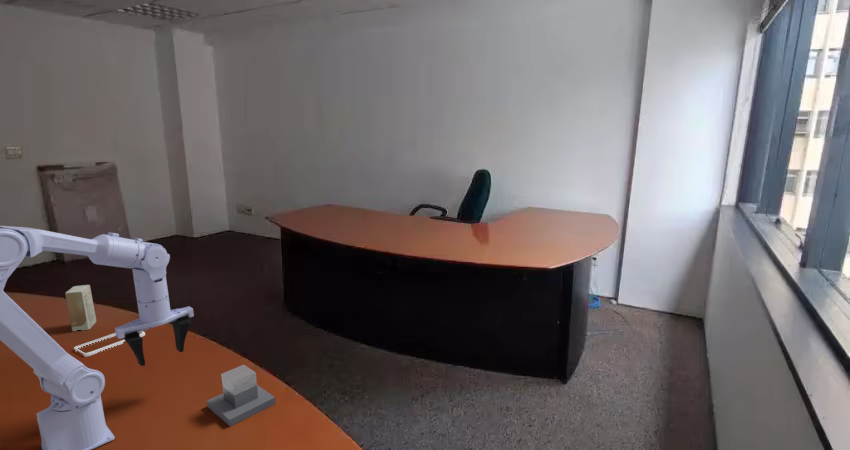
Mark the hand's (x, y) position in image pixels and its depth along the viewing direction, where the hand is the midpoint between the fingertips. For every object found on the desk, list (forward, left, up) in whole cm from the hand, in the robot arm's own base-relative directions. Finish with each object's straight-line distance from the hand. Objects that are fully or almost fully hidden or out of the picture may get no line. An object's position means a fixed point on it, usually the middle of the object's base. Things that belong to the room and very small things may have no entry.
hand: (161, 357), depth 97 cm
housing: (+9, -16, -8) cm, 20 cm away
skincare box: (-2, +58, -10) cm, 59 cm away
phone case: (0, +40, -10) cm, 41 cm away
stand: (+9, -16, -9) cm, 21 cm away
